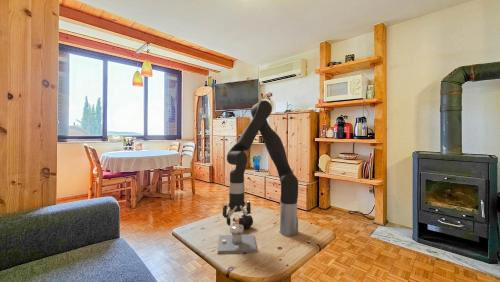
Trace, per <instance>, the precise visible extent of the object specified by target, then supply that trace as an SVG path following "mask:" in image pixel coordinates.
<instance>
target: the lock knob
mask: <svg viewBox="0 0 500 282" xmlns="http://www.w3.org/2000/svg"><path fill="white" fill-rule="evenodd" d="M234 218H235V222H234V224H233V223H232V224H230V226H229V234H230V235H232V234H234V235H239V234H242V235H243V234H244V232H245V228H244V226H243V225H241V224H239V218H240V217H239V213H236V214H235V213H234Z"/></svg>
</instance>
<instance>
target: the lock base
mask: <svg viewBox="0 0 500 282" xmlns="http://www.w3.org/2000/svg"><path fill="white" fill-rule="evenodd" d="M257 250H258V249H257V245H256V241H255V235H254V233H250V234H249V233H248V234H244V233H242V234H239V235H234V234H219V237H218V245H217V254H219V255H220V254H235V253H236V254H239V253H257V252H258V251H257Z"/></svg>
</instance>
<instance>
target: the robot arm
mask: <svg viewBox="0 0 500 282" xmlns="http://www.w3.org/2000/svg"><path fill="white" fill-rule="evenodd" d="M272 112H273V106H272V104H271V103H270V102H269V101H267V100H265V99H264V100H261V101H258V102H256V103H255V104H254V105H252V107H251V109H250V115H251V116H252V119H251V121H250V122H249V124H248V125H247V126H246V127H245V128H244V130H243V131H242V133H241V135H240V136H239V138H238V139H237V142H235V144H234V145H233V146H232V147H231V148H230V149H229V151H227V152H228V153H227V155H226V161H227V163H228V164H229V165H233V166H235V168H234V169H231V170H230V172H229V184H228V185H229V186H228V189H229V190H228V193H229V195H228V201H229V202H228V203H226V204H225V203H223V204H222V217H224V218H225V219H226V225H227V226H228V227H230V226H231V217H232V215H233V214H235V213H239V212H240V213H242V215H243V222H244V223H246V222H247V216H249V215H251V212H252V211H251V210H252V209H251V208H252V207H251V202H250V201H248V200H246V201H245V191H246V190H245V171H246V168H247V164H248V156H247V153H246V151H249V150H250V148H251V146H252V145H253V144H254V143H253V142H254V140H255V139H256V137H257V135H258V133H260V135H261V138H262V140H263V142H264V145H265V148H266V151H267V153H268V154H269V157H270V159H271V161H272V163H273V164H274V166H275V168H276V170H277V174H278V177H279V181H280V196H279V197H280V199H279V200H280V207H279V208H280V209H279V213H280V214H279V216H280V217H279V218H280V220H279V222H280V223H279V226H280V227H279V232H280V234H281V235H283V236H285V237H286V236H287V237H294V236H297V235H299V216H298V198H299V179H298V178H297V176H296V175H295V174H294V172H293V170H292V168H291V167H290V164H289V161H288V158H287V157H288V156H287V153H286V149H285V146H284V144H283V141H282V138H281V137H280V136H279V134H278V133H277V132H275V131H274V129H273V128H272V127H271V126H270V124H269V123H268V118H269V117H270V116H271V113H272ZM245 206H246V207H245ZM244 207H245V208H246V209H244ZM228 208H229V209H228ZM227 211H228V212H227Z"/></svg>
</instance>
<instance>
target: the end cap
mask: <svg viewBox="0 0 500 282" xmlns="http://www.w3.org/2000/svg"><path fill="white" fill-rule="evenodd" d="M232 221H233V223H232V225H233V224H235V217H233V218H232ZM239 224H241V225H243V226H244V229H247V228H250V227H252V226H253V224H254V219H253V217H252V216H251V214H248V215H247V222H246V223H244V222H243V214H242V215H240V217H239Z"/></svg>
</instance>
